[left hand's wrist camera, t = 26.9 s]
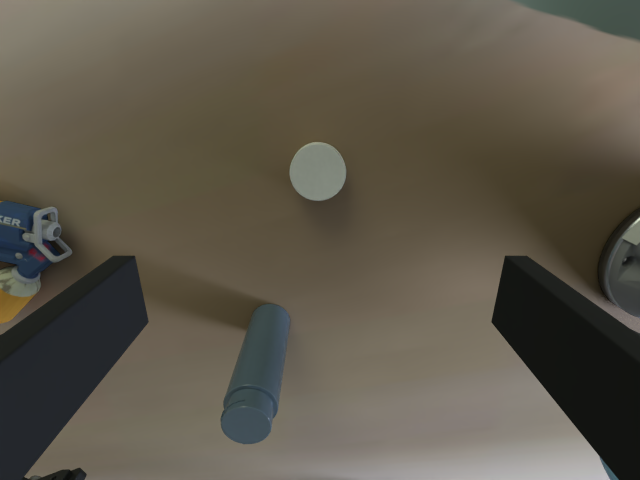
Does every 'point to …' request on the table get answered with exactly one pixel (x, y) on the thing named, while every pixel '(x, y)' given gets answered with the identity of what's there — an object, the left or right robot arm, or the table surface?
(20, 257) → the spray gun
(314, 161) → the lid
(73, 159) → the table surface
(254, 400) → the bottle
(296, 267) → the table surface
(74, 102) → the table surface
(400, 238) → the table surface
